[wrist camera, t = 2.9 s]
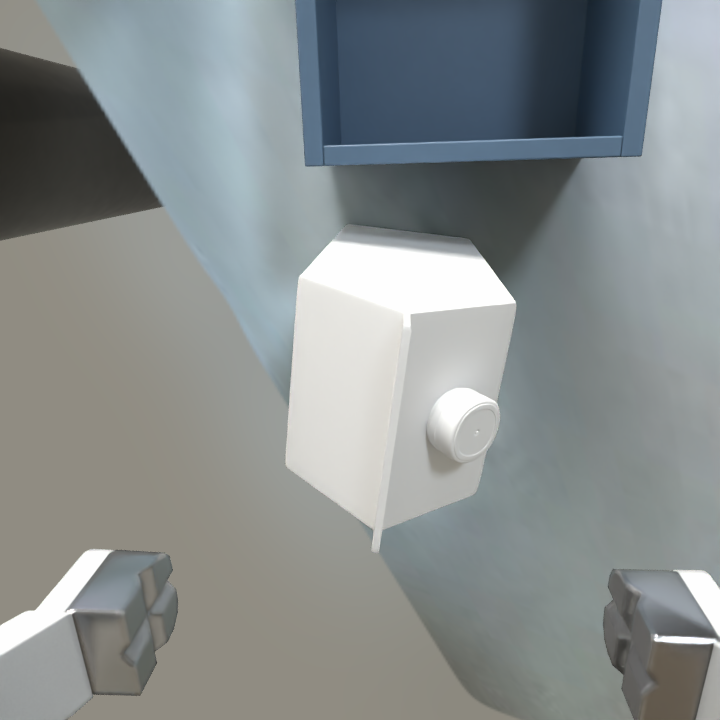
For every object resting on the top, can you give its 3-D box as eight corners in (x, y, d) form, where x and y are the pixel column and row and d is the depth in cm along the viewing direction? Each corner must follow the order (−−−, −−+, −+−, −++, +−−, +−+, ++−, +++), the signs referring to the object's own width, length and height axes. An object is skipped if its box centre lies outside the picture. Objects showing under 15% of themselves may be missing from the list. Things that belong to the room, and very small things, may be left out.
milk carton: (334, 340, 34) (256, 536, 17) (345, 222, 32) (268, 307, 14) (449, 354, 34) (495, 571, 16) (470, 237, 32) (550, 342, 14)
